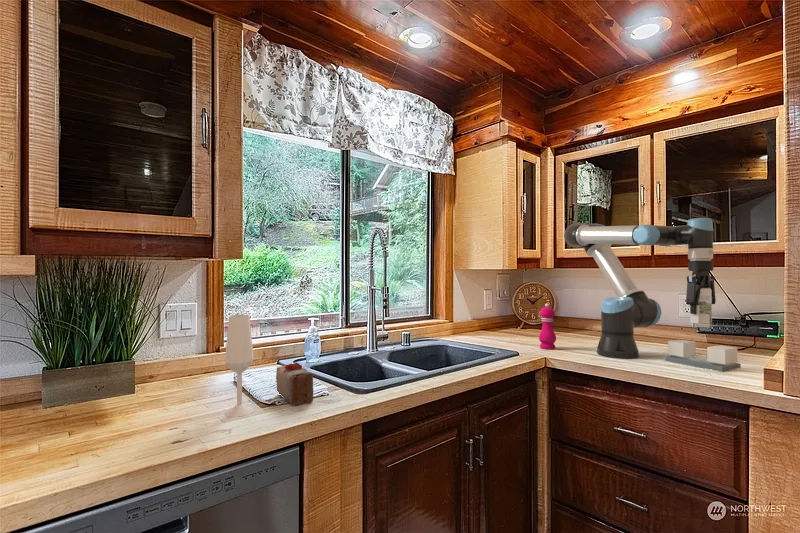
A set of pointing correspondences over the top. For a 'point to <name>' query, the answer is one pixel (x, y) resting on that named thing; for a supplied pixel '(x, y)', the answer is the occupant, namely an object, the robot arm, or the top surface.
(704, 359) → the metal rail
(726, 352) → the block
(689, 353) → the left module
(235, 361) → the champagne flute
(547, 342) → the pepper mill
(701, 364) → the board
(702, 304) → the syrup box
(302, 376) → the food item
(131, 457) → the top surface
